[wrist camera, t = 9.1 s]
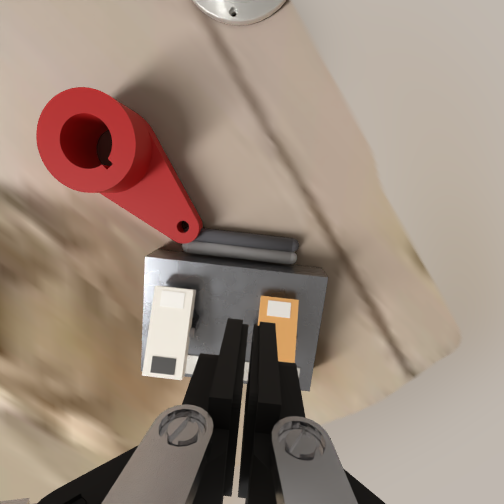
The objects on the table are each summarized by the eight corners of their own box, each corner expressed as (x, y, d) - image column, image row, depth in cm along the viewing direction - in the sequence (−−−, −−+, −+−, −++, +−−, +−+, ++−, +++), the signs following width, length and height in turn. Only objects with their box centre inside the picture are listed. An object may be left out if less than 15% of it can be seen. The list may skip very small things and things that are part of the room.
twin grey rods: (185, 225, 38) (181, 227, 36) (299, 238, 38) (300, 240, 36) (183, 250, 38) (180, 253, 37) (295, 263, 38) (296, 266, 37)
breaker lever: (256, 298, 35) (257, 295, 33) (299, 303, 35) (302, 300, 33) (247, 385, 32) (247, 386, 31) (293, 390, 32) (296, 392, 31)
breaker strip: (157, 249, 39) (139, 259, 33) (321, 267, 38) (331, 281, 33) (152, 353, 41) (135, 379, 36) (305, 371, 41) (311, 400, 36)
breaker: (156, 285, 35) (150, 285, 33) (200, 290, 34) (197, 290, 33) (144, 369, 34) (137, 375, 32) (189, 375, 34) (185, 380, 32)
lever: (60, 148, 36) (16, 138, 30) (116, 88, 35) (82, 63, 28) (170, 262, 38) (151, 276, 32) (227, 210, 37) (219, 213, 30)
